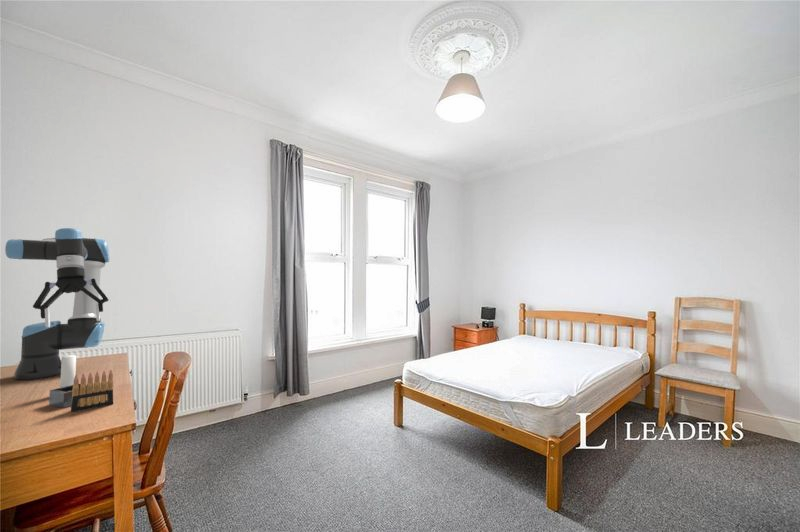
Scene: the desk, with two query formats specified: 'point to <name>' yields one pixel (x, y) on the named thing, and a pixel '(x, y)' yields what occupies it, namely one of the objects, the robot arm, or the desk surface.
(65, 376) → the cylinder
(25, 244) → the robot arm
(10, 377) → the desk surface
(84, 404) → the ammunition clip
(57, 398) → the square open box
